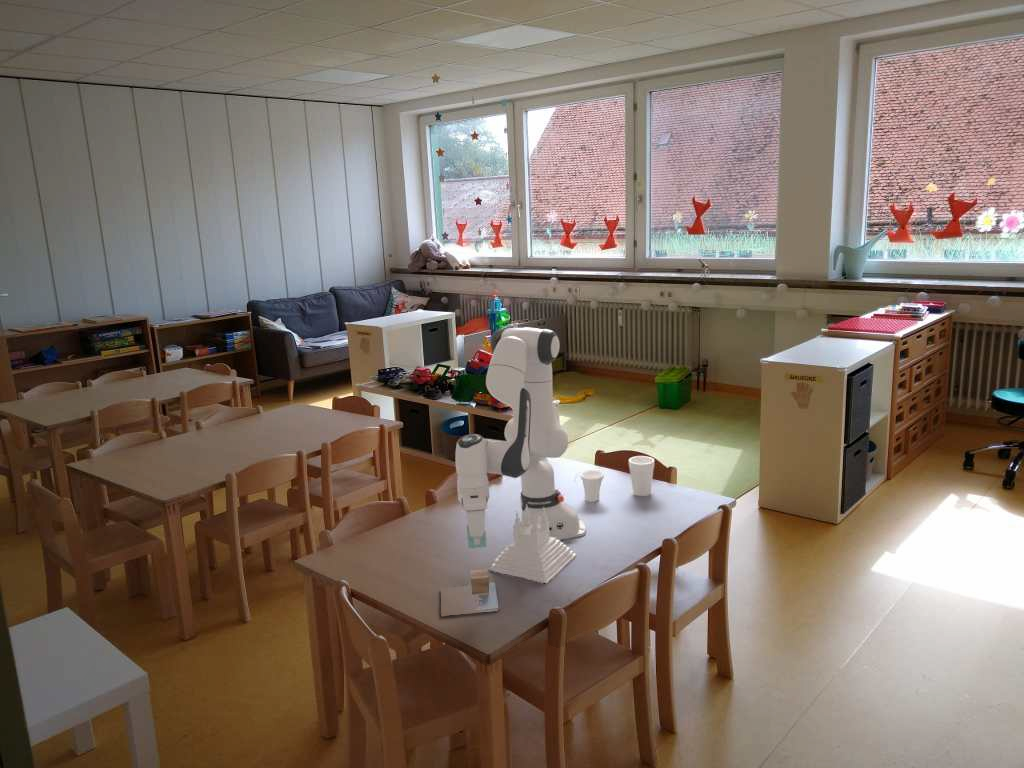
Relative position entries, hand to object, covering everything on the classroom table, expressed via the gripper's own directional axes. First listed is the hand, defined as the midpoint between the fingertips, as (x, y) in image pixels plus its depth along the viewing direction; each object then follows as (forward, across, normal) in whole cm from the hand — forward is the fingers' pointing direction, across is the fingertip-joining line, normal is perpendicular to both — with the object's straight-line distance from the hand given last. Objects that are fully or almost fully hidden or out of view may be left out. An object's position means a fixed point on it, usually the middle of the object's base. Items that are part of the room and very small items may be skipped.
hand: (476, 538), depth 219 cm
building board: (+17, +3, -3) cm, 18 cm away
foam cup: (+17, -65, +65) cm, 93 cm away
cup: (+17, -63, +46) cm, 79 cm away
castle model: (+18, -16, +17) cm, 29 cm away
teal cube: (+2, 0, 0) cm, 2 cm away
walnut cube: (+16, 0, 0) cm, 16 cm away
